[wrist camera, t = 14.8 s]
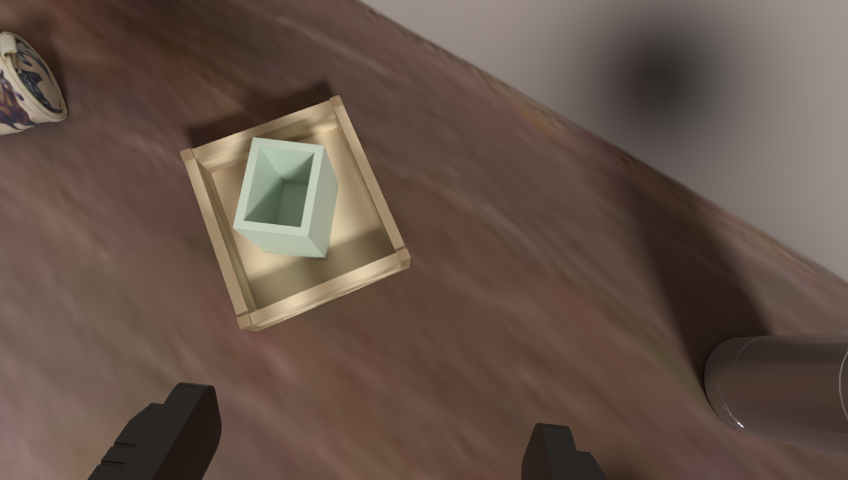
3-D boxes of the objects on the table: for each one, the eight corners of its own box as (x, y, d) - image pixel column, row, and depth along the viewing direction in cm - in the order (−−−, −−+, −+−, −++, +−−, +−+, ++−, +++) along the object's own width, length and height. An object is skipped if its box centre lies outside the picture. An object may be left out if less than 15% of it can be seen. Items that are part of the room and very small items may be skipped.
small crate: (338, 184, 46) (324, 145, 38) (326, 259, 44) (307, 236, 36) (281, 177, 46) (253, 137, 38) (266, 252, 44) (232, 228, 36)
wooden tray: (345, 119, 49) (338, 94, 45) (409, 267, 45) (410, 257, 41) (201, 171, 47) (179, 151, 42) (257, 331, 43) (240, 329, 39)
